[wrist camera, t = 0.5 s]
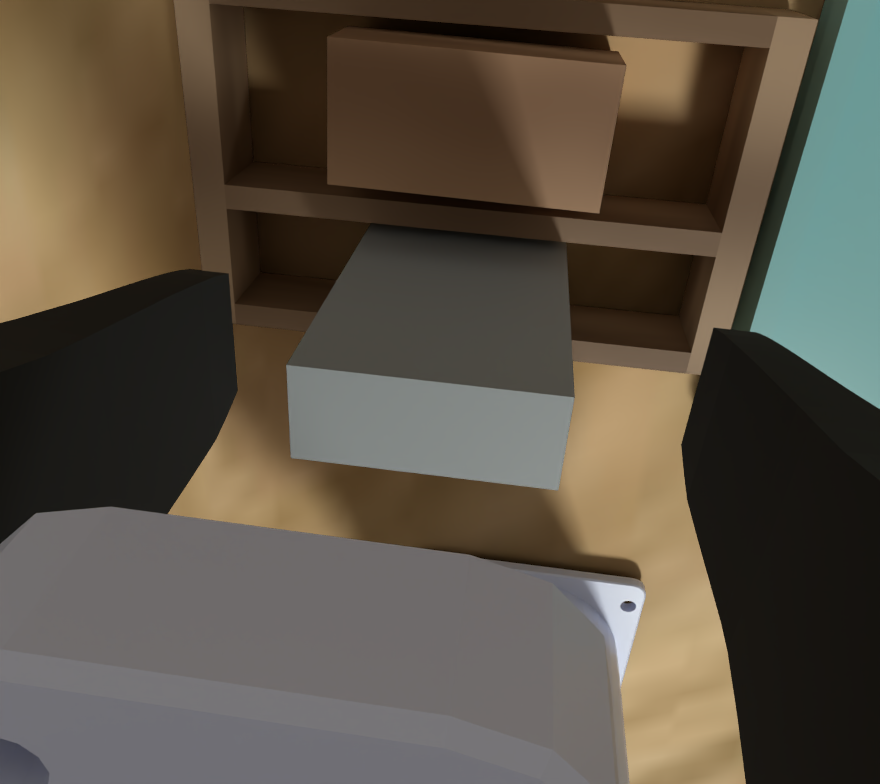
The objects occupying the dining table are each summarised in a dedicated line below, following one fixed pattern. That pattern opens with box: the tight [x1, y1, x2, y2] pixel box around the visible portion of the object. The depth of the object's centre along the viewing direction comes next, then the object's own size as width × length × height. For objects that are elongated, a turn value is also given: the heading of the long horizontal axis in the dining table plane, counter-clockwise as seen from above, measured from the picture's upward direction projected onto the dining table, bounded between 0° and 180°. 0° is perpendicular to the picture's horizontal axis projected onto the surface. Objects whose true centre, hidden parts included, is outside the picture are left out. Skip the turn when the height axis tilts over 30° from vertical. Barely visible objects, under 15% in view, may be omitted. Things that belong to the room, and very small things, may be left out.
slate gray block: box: [286, 223, 575, 490], centre depth 18 cm, size 2×5×9 cm, turn 87°
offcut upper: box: [327, 26, 626, 213], centre depth 17 cm, size 3×6×2 cm, turn 86°
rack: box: [174, 0, 818, 375], centre depth 19 cm, size 8×14×2 cm, turn 87°
